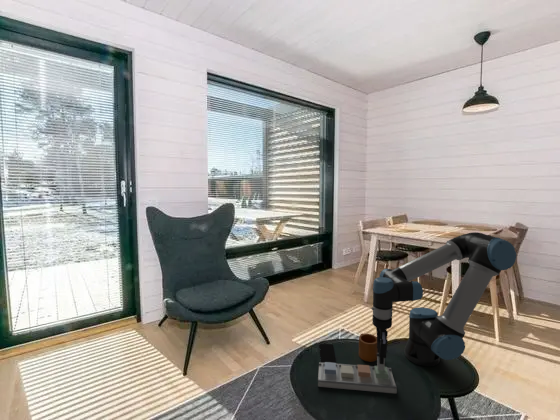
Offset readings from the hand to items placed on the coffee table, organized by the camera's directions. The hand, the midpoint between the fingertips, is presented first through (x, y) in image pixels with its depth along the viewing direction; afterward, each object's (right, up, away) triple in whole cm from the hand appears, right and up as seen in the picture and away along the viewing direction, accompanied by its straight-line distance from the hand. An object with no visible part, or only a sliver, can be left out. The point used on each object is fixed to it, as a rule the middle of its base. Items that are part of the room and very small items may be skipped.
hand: (380, 368), depth 127 cm
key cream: (-14, -3, +3) cm, 14 cm away
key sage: (0, -2, 0) cm, 2 cm away
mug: (0, -3, +20) cm, 20 cm away
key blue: (-20, -3, +4) cm, 21 cm away
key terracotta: (-7, -3, +1) cm, 7 cm away
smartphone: (-19, -4, +21) cm, 29 cm away
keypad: (-10, -6, +3) cm, 12 cm away
